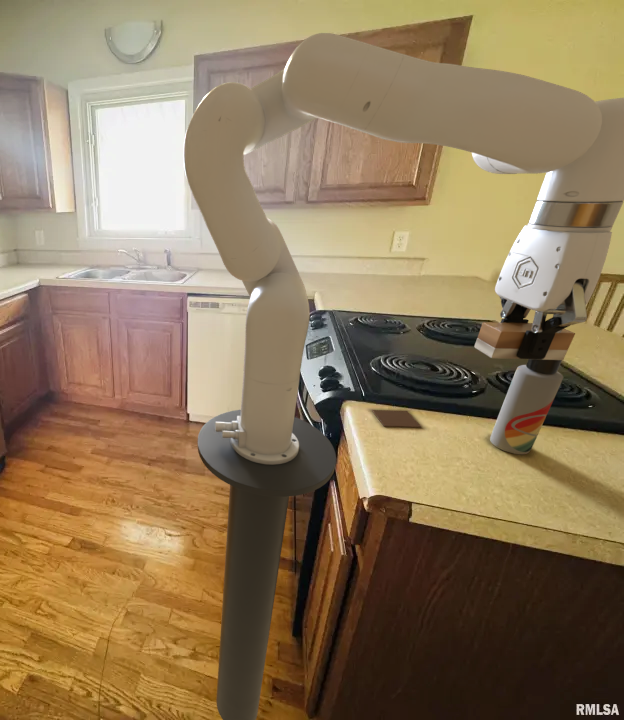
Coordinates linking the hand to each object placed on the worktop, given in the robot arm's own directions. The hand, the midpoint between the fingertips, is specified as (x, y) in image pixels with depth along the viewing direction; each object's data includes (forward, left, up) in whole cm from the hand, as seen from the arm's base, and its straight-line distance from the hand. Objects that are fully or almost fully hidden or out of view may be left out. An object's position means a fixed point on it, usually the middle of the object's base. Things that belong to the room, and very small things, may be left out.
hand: (517, 350), depth 56 cm
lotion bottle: (+11, +8, -23) cm, 27 cm away
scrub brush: (0, 0, 0) cm, 0 cm away
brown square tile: (-5, +16, -22) cm, 28 cm away
